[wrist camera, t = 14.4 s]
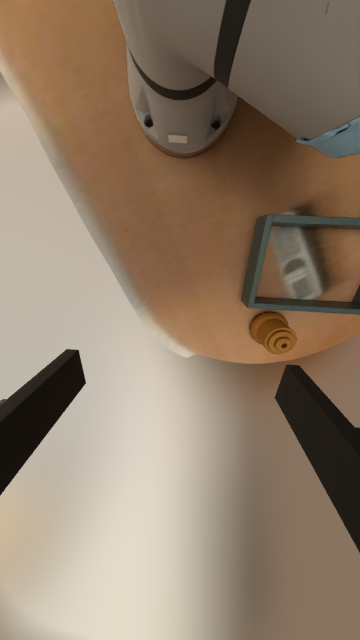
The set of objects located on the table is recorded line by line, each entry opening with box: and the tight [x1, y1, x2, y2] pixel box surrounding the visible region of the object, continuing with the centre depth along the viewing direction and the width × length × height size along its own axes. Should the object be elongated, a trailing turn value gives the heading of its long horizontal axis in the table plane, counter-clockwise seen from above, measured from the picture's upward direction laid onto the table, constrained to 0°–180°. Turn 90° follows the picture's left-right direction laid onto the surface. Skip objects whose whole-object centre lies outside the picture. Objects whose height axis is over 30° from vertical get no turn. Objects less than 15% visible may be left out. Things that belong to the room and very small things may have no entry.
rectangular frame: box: [241, 214, 360, 315], centre depth 31 cm, size 15×23×4 cm, turn 87°
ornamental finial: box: [250, 312, 297, 354], centre depth 35 cm, size 8×8×8 cm
